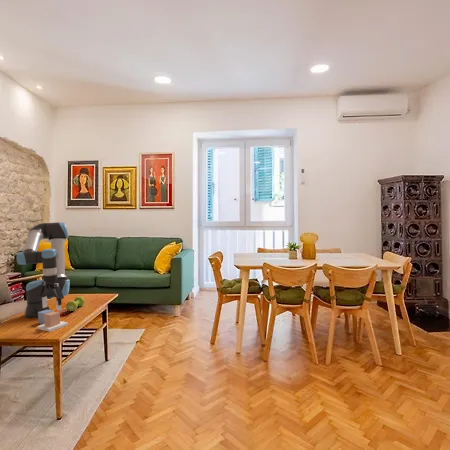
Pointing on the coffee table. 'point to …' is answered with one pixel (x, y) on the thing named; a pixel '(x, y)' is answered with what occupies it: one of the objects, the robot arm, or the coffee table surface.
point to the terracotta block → (52, 318)
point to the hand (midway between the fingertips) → (52, 308)
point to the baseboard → (47, 328)
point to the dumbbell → (75, 303)
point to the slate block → (42, 316)
